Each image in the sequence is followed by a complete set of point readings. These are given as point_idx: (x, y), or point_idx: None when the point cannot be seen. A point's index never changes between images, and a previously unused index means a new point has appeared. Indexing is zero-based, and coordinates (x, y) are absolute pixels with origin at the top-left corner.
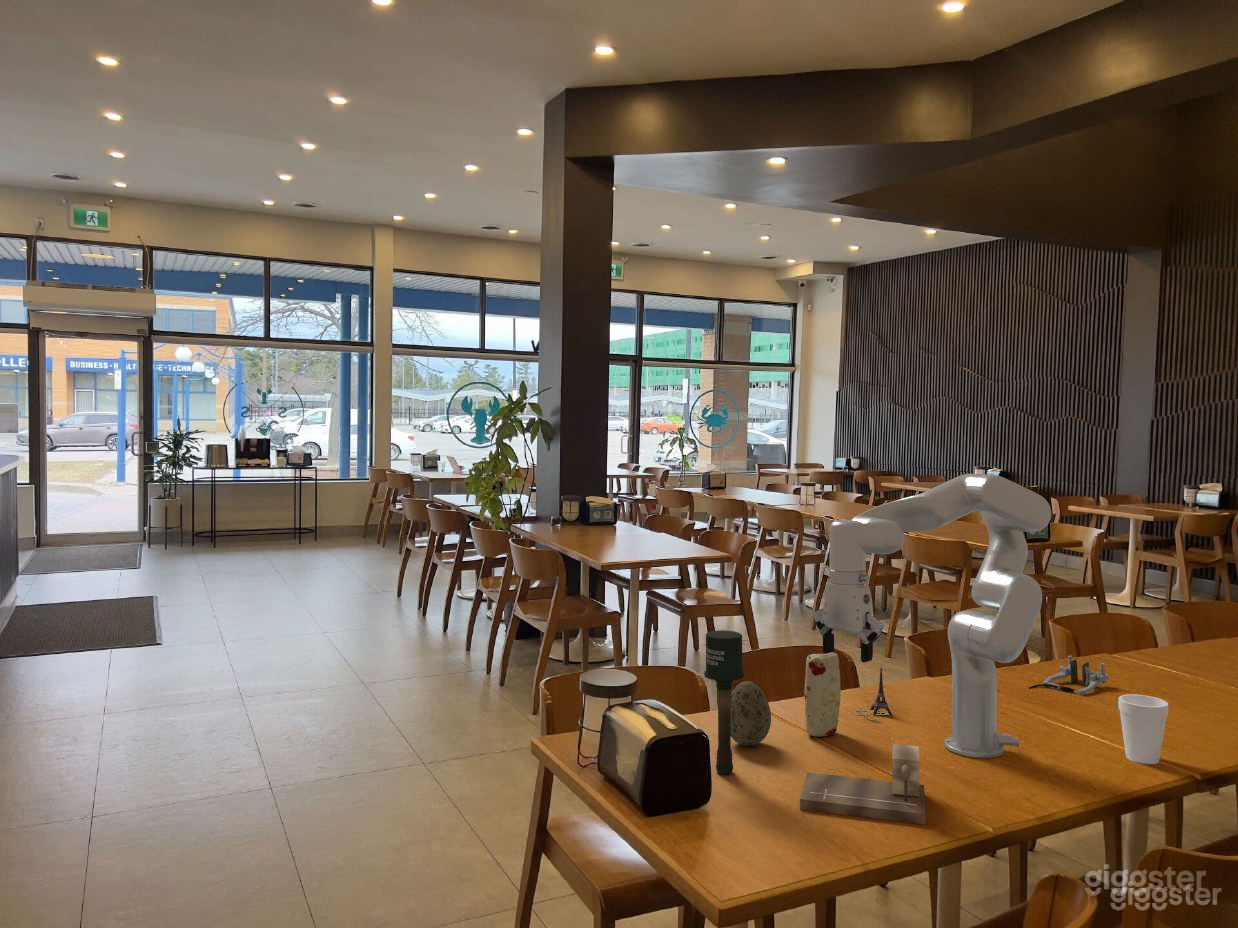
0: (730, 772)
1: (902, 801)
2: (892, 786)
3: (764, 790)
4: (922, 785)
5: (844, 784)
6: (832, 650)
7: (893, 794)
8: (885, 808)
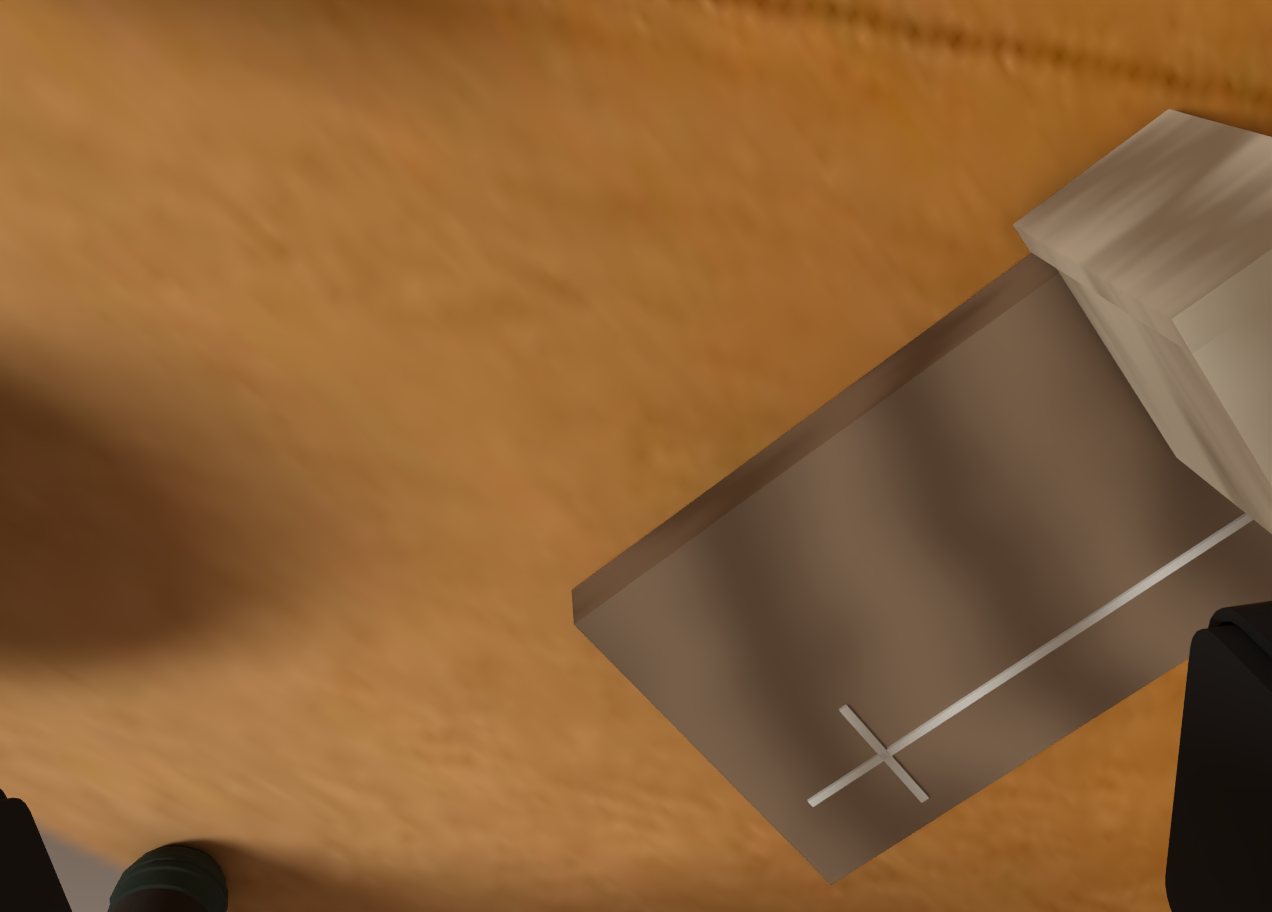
0: (224, 878)
1: None
2: (1201, 475)
3: (525, 847)
4: None
5: (864, 571)
6: (30, 870)
7: None
8: None
